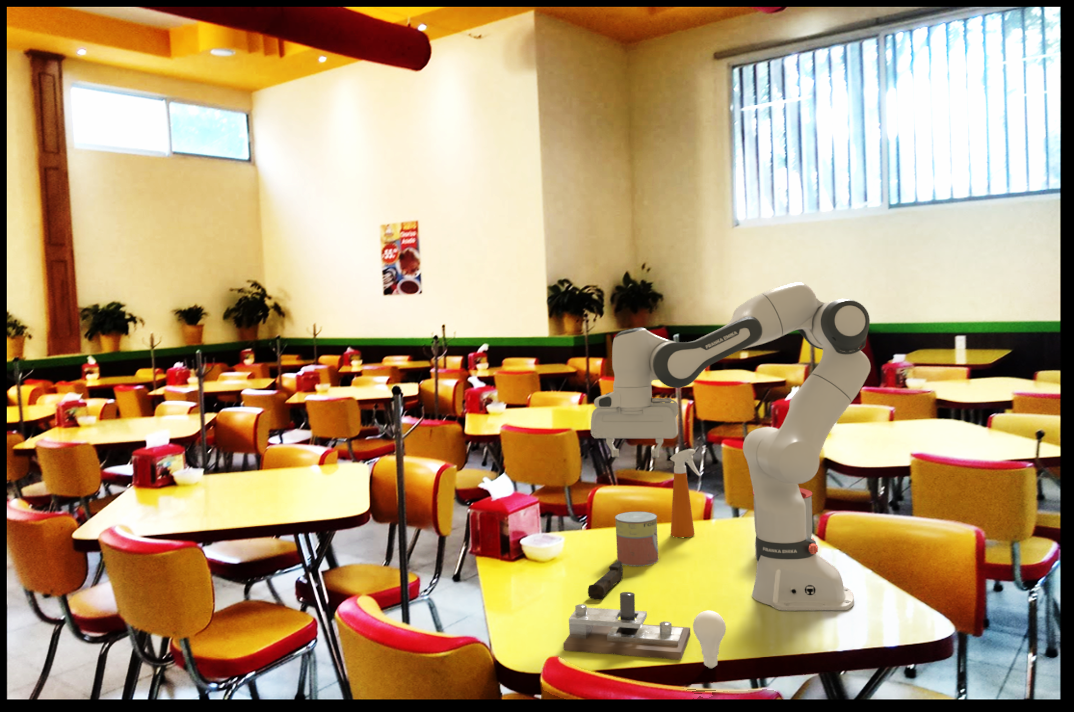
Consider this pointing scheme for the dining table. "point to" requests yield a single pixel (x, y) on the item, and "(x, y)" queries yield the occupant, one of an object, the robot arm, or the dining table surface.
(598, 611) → the metal clamp fixture
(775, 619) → the dining table surface
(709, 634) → the lightbulb
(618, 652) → the walnut board
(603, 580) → the hand tool
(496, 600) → the dining table surface
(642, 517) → the canned food
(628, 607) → the steel pin
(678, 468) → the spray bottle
